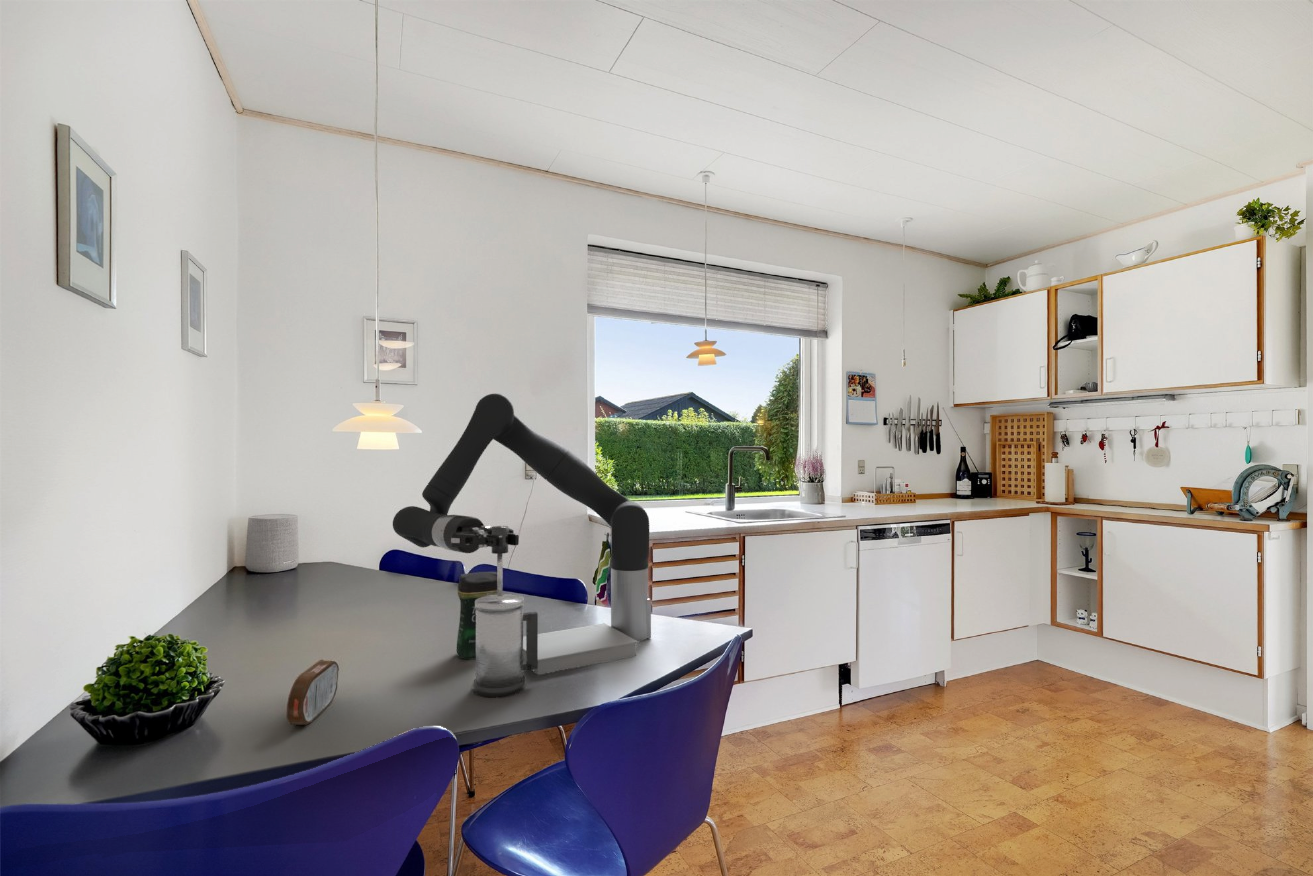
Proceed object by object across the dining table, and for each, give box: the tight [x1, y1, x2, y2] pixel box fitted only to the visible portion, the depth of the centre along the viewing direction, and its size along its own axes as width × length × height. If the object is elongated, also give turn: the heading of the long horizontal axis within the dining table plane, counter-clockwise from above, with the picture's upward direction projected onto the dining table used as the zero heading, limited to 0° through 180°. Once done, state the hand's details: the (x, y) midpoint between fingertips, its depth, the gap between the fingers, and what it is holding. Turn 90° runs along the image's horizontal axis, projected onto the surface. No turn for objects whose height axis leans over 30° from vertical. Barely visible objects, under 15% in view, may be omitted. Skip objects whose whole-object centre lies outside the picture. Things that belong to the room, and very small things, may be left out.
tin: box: [286, 659, 340, 726], centre depth 112 cm, size 15×3×8 cm, turn 5°
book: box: [523, 623, 639, 675], centre depth 144 cm, size 18×4×24 cm
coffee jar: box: [456, 571, 497, 660], centre depth 144 cm, size 10×8×19 cm
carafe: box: [473, 593, 539, 699], centre depth 124 cm, size 12×10×17 cm
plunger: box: [491, 525, 509, 596], centre depth 124 cm, size 3×3×14 cm
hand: (509, 541), depth 122 cm, fingers closed on plunger, 3 cm apart
